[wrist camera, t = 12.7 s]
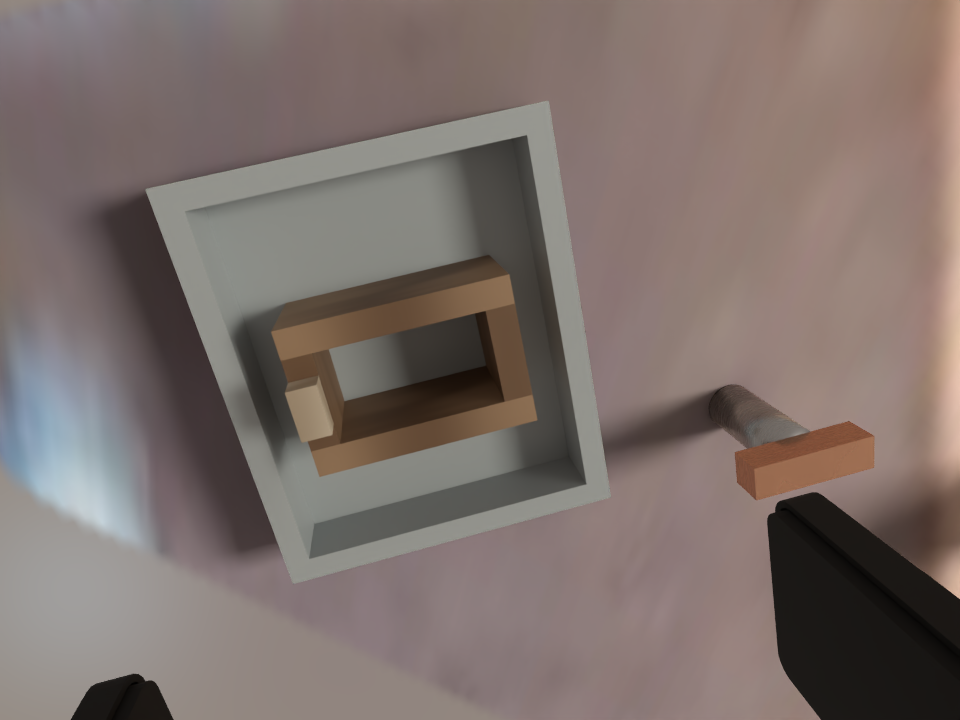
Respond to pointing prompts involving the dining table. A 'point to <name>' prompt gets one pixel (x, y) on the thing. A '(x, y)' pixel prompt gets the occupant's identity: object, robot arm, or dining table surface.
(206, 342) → the tray
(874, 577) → the robot arm
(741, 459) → the brown grey t-shaped piece
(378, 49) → the dining table surface
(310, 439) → the collar
